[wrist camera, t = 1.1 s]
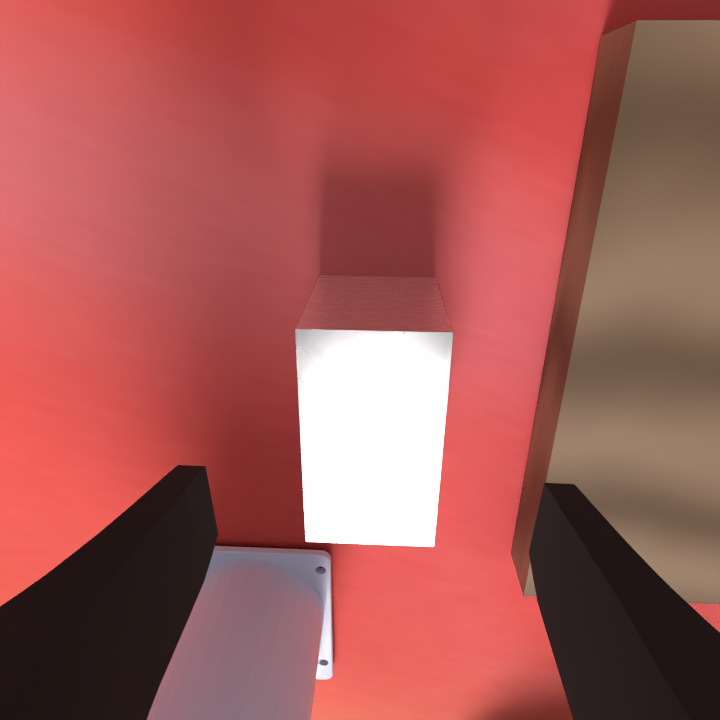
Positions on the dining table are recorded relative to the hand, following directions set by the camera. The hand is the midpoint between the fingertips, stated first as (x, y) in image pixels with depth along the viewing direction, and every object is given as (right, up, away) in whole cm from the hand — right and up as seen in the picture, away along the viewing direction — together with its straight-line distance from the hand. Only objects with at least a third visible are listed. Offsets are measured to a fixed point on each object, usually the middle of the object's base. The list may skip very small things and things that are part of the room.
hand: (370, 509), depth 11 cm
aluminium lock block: (0, +3, +11) cm, 11 cm away
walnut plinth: (+13, +3, +10) cm, 17 cm away
